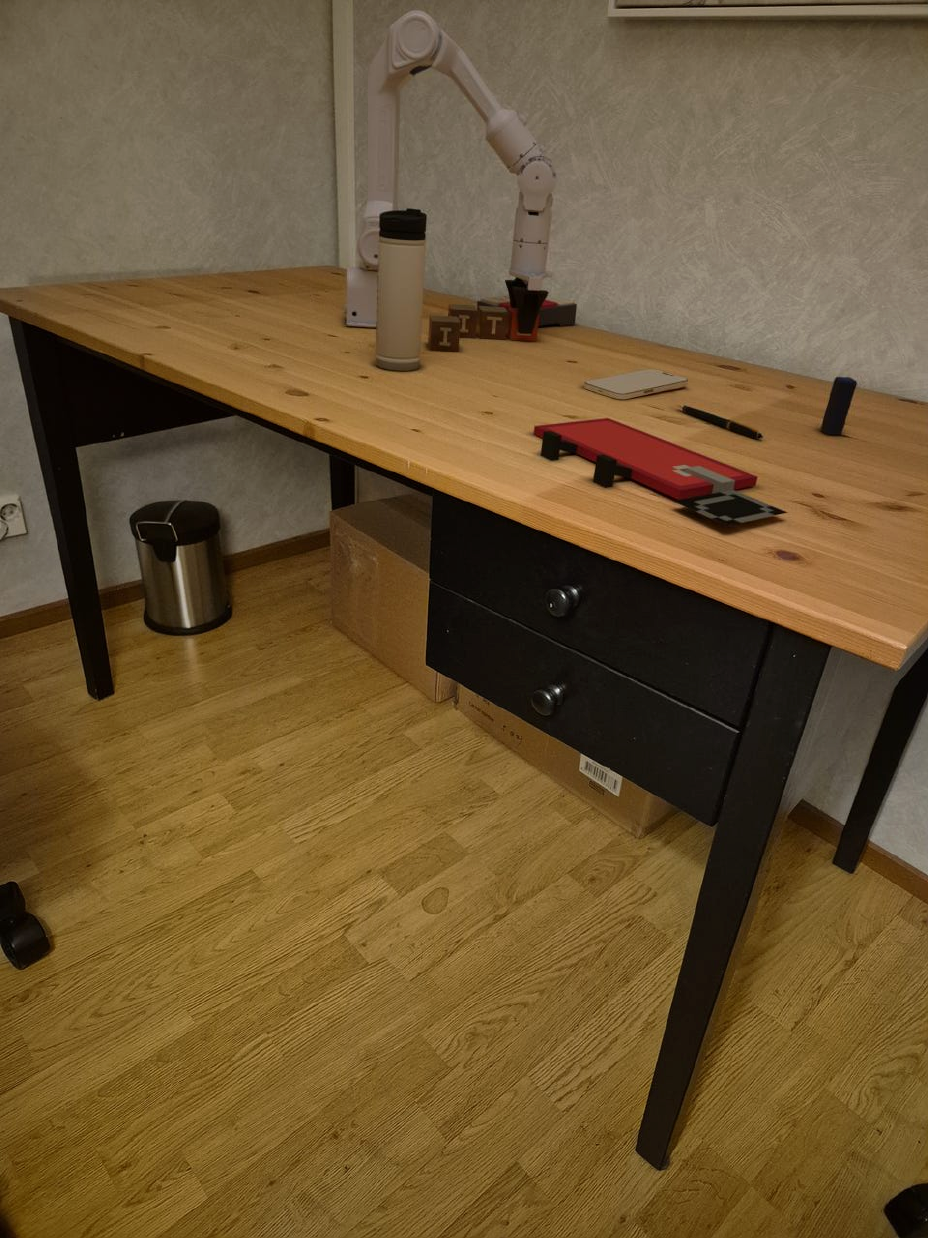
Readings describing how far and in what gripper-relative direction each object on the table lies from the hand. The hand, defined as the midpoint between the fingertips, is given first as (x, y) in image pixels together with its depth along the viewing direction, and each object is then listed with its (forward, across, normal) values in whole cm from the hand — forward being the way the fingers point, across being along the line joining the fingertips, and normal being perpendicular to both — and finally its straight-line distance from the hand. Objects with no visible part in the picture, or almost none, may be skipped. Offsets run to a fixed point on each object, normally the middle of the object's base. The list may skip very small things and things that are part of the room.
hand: (521, 329), depth 144 cm
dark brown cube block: (+1, 0, +10) cm, 10 cm away
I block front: (+1, -11, +14) cm, 18 cm away
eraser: (+2, -48, -31) cm, 57 cm away
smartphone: (+2, -30, -11) cm, 32 cm away
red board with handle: (+2, -65, -3) cm, 65 cm away
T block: (+1, 0, +5) cm, 5 cm away
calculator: (+2, +15, -3) cm, 15 cm away
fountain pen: (+2, -46, -17) cm, 49 cm away
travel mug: (+2, -24, +22) cm, 32 cm away
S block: (+1, 0, 0) cm, 1 cm away
